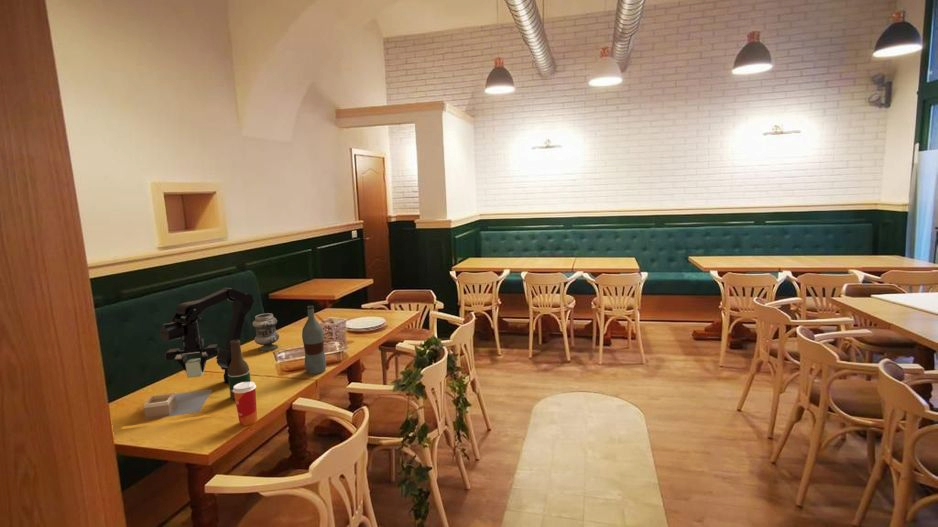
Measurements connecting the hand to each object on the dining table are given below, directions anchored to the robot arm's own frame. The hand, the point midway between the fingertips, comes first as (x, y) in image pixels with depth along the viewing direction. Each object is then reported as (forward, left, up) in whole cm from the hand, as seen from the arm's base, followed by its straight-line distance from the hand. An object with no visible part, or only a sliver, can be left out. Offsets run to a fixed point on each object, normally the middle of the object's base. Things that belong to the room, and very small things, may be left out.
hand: (195, 372), depth 199 cm
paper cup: (-23, +30, -11) cm, 39 cm away
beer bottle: (-17, +7, -11) cm, 21 cm away
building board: (+5, +6, -11) cm, 13 cm away
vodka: (-45, -14, -11) cm, 48 cm away
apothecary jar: (-19, -57, -11) cm, 61 cm away
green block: (0, 0, -1) cm, 1 cm away
